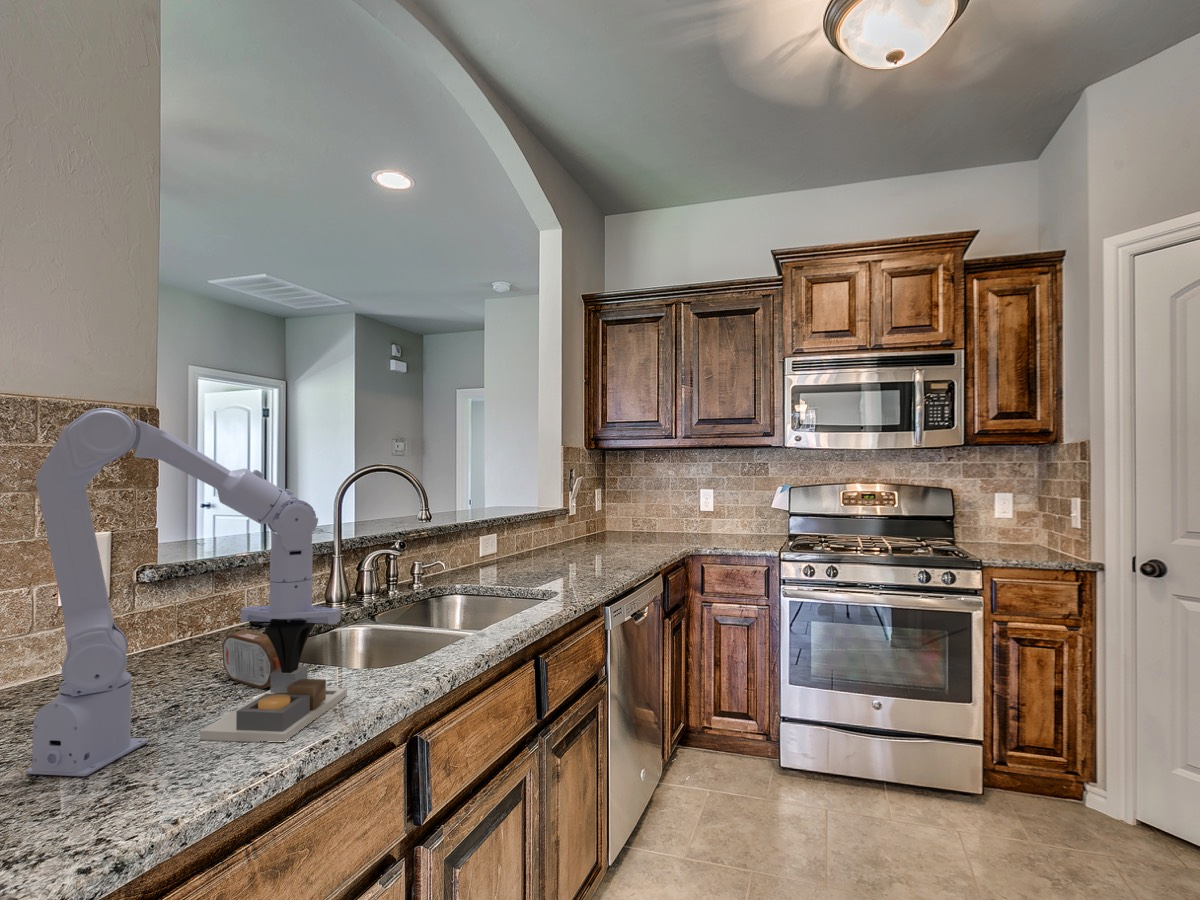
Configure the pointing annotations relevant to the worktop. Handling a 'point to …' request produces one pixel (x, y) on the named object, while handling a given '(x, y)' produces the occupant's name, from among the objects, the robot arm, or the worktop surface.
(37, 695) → the worktop surface
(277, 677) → the grey slider
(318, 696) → the small cardboard carton
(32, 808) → the worktop surface
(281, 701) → the orange button
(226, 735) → the panel
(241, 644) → the tin
